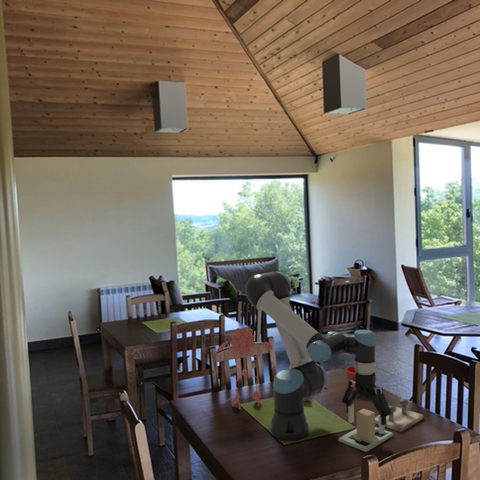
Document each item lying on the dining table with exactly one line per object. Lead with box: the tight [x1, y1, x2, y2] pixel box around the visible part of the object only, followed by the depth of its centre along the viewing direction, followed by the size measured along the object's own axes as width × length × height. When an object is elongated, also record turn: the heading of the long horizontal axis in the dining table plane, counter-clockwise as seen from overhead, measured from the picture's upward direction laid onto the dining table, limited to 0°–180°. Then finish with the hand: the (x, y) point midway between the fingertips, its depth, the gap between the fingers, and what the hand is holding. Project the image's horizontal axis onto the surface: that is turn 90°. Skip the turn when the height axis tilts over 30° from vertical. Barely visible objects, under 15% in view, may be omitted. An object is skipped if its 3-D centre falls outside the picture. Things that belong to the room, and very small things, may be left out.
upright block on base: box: [338, 408, 394, 452], centre depth 186 cm, size 12×18×10 cm, turn 132°
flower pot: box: [345, 365, 357, 392], centre depth 239 cm, size 11×11×10 cm
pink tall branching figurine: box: [215, 327, 273, 411], centre depth 225 cm, size 15×26×35 cm, turn 110°
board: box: [375, 398, 425, 433], centre depth 202 cm, size 13×18×7 cm
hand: (366, 427), depth 186 cm, fingers open, 13 cm apart
